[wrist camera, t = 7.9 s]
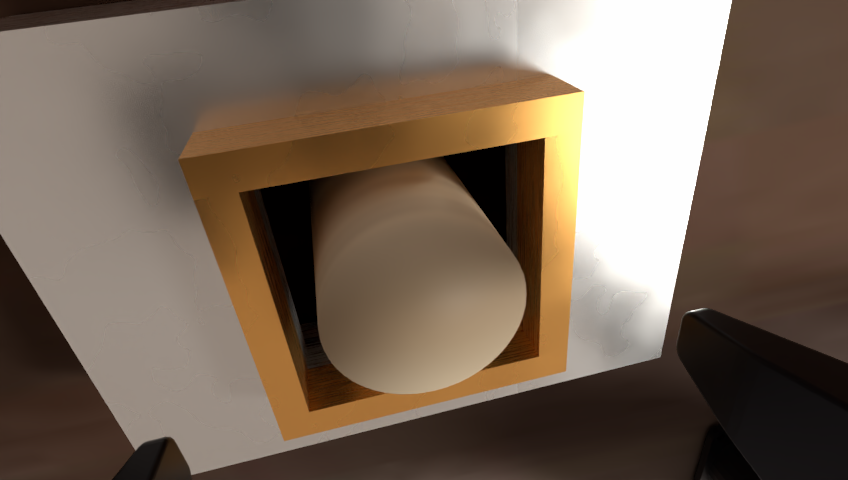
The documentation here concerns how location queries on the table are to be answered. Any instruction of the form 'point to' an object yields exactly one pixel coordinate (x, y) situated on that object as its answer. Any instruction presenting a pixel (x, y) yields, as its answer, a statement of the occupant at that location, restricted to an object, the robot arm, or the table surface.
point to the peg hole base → (327, 156)
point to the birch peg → (410, 277)
